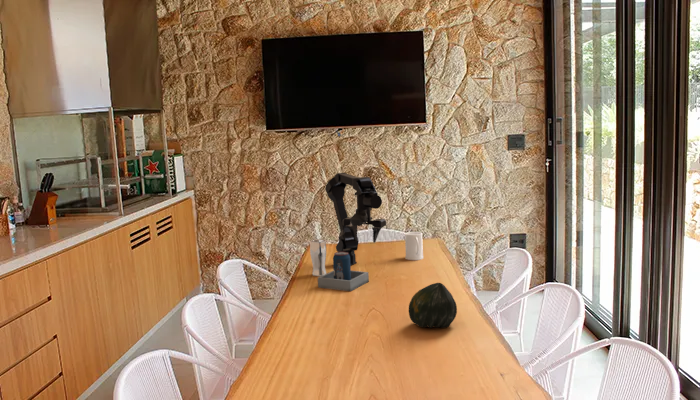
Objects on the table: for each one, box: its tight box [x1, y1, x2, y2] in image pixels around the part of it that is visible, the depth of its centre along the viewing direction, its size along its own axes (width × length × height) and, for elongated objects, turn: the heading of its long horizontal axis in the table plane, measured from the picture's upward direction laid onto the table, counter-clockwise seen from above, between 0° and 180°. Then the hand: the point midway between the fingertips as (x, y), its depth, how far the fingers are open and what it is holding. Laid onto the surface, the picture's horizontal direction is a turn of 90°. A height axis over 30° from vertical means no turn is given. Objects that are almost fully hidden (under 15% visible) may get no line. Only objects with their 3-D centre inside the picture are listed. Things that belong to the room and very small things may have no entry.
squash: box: [408, 282, 458, 329], centre depth 196 cm, size 14×15×15 cm
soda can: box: [332, 251, 352, 280], centre depth 249 cm, size 7×7×12 cm
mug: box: [404, 231, 424, 261], centre depth 288 cm, size 12×8×12 cm
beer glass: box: [309, 238, 327, 277], centre depth 266 cm, size 7×7×15 cm
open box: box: [317, 269, 370, 292], centre depth 250 cm, size 15×15×4 cm
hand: (365, 241), depth 269 cm, fingers open, 9 cm apart
